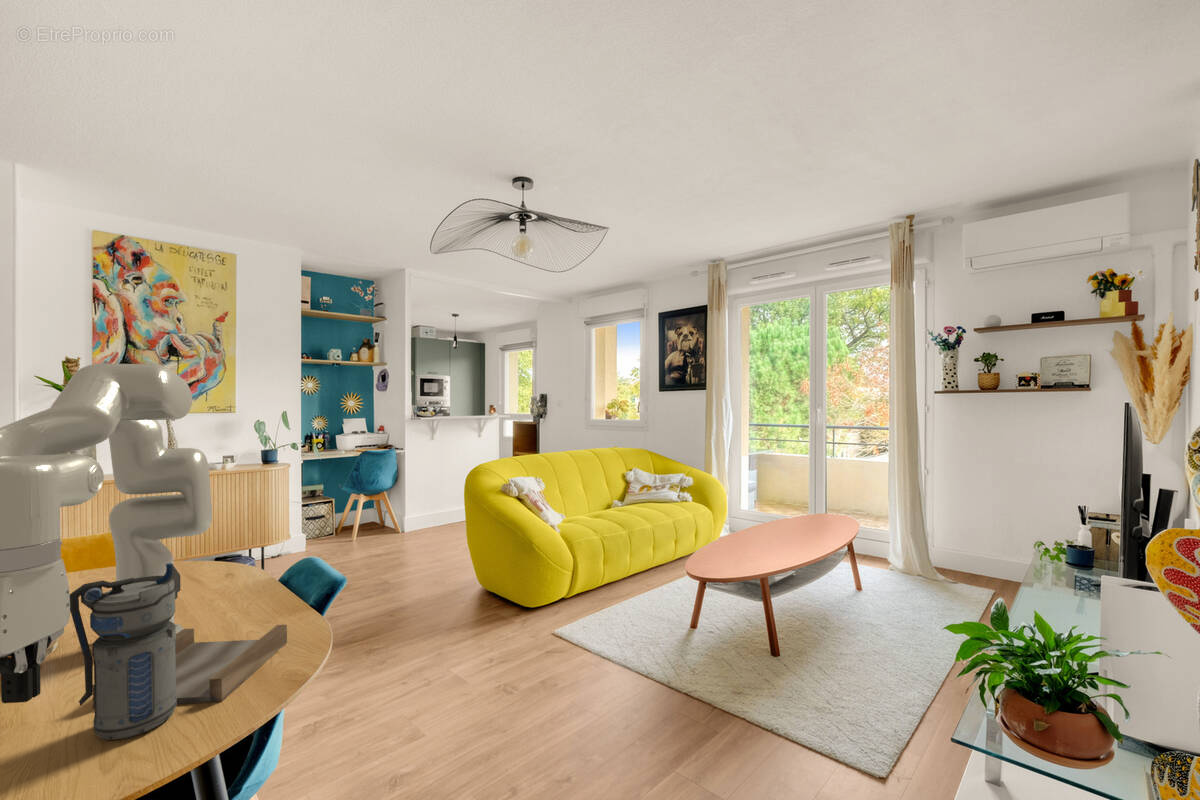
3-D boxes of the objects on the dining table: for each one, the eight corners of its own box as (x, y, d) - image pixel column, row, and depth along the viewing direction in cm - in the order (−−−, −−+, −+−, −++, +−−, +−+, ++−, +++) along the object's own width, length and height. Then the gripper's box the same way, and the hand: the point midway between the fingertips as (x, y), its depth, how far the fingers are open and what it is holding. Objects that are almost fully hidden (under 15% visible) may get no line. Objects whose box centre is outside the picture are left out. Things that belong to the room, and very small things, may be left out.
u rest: (93, 708, 90) (92, 685, 90) (184, 647, 112) (184, 628, 112) (222, 701, 92) (221, 678, 92) (287, 643, 114) (286, 624, 114)
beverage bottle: (69, 733, 83) (67, 575, 83) (175, 697, 93) (173, 556, 93) (74, 762, 77) (71, 591, 77) (188, 720, 87) (185, 568, 86)
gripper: (44, 542, 75) (46, 670, 75) (-84, 578, 60) (-81, 738, 60) (100, 540, 76) (102, 668, 76) (-12, 575, 61) (-10, 734, 61)
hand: (21, 698), depth 68 cm, fingers closed
